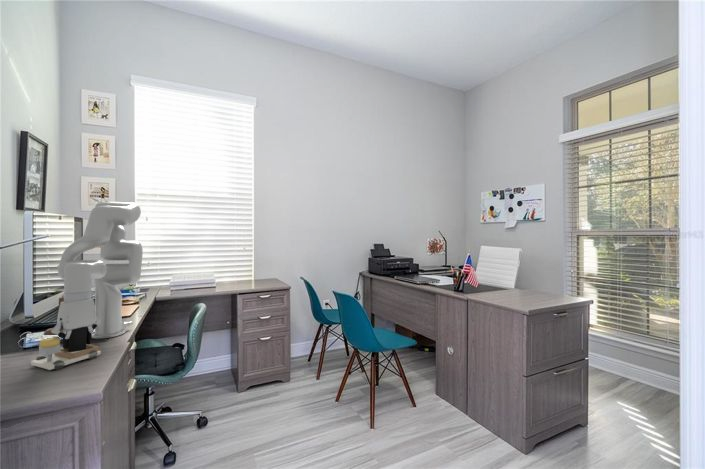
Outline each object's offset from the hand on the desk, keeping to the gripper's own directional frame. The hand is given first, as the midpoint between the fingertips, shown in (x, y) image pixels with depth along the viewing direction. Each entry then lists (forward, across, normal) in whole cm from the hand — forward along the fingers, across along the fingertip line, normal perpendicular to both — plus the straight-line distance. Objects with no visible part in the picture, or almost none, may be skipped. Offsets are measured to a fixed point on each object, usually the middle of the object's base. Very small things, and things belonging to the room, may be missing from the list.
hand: (77, 345), depth 116 cm
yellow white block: (0, +8, 0) cm, 8 cm away
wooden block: (+5, -10, -31) cm, 33 cm away
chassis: (+4, +3, 0) cm, 5 cm away
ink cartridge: (+2, 0, 0) cm, 2 cm away
